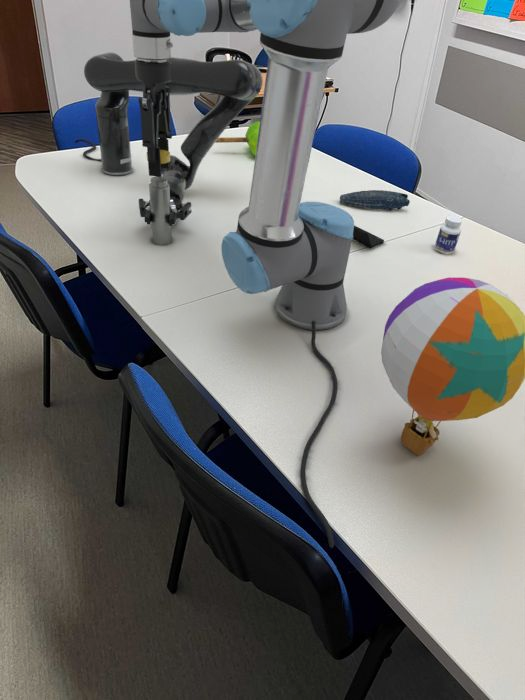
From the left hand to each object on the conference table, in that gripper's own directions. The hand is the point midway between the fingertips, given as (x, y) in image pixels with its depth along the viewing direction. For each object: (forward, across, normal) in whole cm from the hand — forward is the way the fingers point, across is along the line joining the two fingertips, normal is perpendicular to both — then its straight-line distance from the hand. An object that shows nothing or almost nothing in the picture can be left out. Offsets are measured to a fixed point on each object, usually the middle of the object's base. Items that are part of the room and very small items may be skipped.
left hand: (159, 221), depth 127 cm
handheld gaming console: (-10, +52, +6) cm, 53 cm away
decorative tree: (-74, +23, +6) cm, 78 cm away
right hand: (-2, 0, -12) cm, 12 cm away
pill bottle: (-8, +75, +6) cm, 76 cm away
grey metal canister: (-3, 0, +6) cm, 7 cm away
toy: (+62, +51, +6) cm, 81 cm away
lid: (-2, 0, -15) cm, 16 cm away
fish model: (-34, +60, +6) cm, 69 cm away
